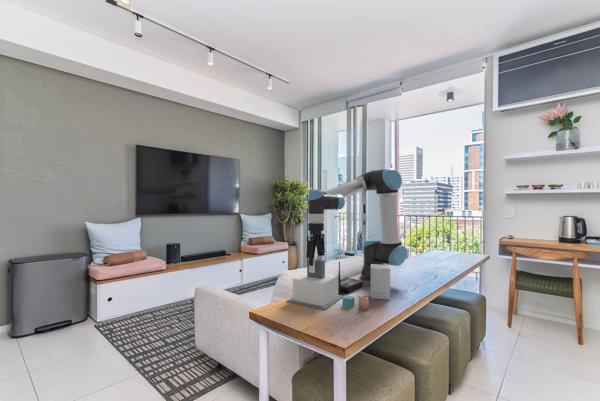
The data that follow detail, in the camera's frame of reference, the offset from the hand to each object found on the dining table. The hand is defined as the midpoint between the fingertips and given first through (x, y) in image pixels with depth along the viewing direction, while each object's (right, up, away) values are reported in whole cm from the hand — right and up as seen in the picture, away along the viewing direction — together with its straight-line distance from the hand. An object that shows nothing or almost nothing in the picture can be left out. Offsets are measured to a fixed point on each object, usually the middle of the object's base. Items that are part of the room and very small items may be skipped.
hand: (315, 270), depth 139 cm
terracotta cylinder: (+20, -14, -12) cm, 27 cm away
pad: (0, -14, 0) cm, 14 cm away
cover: (0, -13, 0) cm, 13 cm away
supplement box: (+32, -14, +4) cm, 35 cm away
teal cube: (+14, -14, -8) cm, 21 cm away
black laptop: (+16, -14, +15) cm, 26 cm away
